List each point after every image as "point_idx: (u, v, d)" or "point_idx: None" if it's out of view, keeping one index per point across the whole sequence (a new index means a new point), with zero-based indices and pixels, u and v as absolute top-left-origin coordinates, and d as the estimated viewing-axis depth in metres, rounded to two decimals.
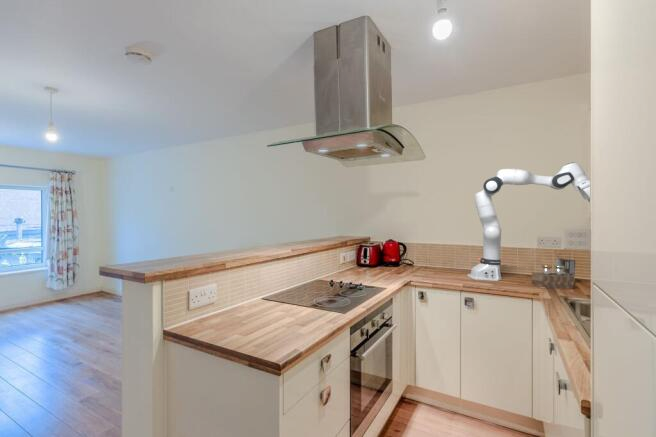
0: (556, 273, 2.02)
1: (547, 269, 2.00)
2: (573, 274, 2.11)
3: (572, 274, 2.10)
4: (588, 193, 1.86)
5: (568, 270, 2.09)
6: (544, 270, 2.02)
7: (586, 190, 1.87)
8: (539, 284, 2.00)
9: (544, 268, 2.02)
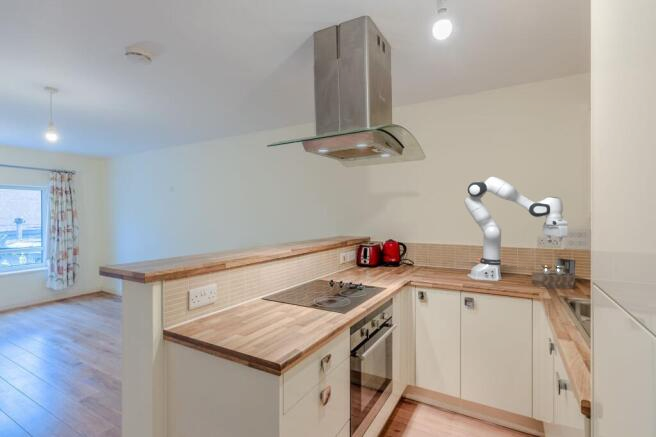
0: (556, 273, 2.02)
1: (547, 269, 2.00)
2: (573, 274, 2.11)
3: (572, 274, 2.10)
4: (561, 231, 1.90)
5: (568, 270, 2.09)
6: (544, 270, 2.02)
7: (561, 227, 1.90)
8: (539, 284, 2.00)
9: (544, 268, 2.02)
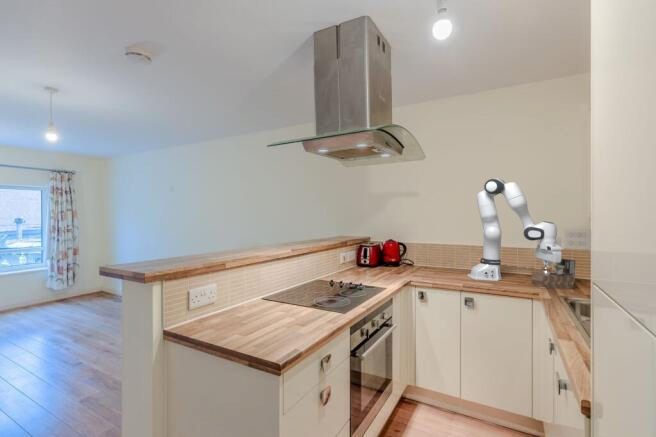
0: (556, 273, 2.02)
1: (547, 271, 2.01)
2: (573, 274, 2.11)
3: (572, 274, 2.10)
4: (555, 257, 1.92)
5: (568, 270, 2.09)
6: (544, 272, 2.02)
7: (555, 253, 1.92)
8: (539, 284, 2.00)
9: (544, 270, 2.02)
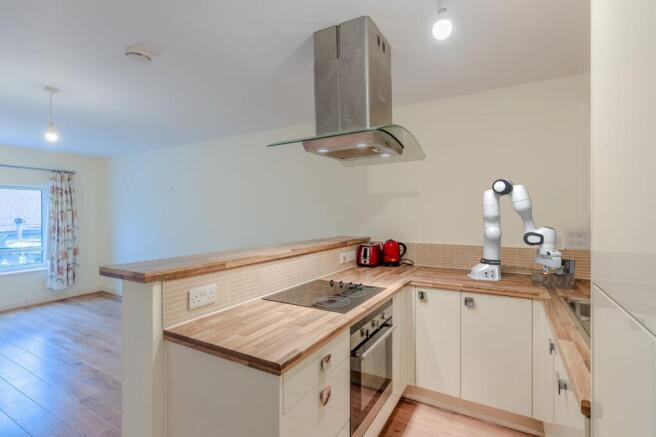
0: (556, 273, 2.02)
1: None
2: (573, 274, 2.11)
3: (572, 274, 2.10)
4: (555, 262, 1.92)
5: (568, 270, 2.09)
6: None
7: (555, 259, 1.93)
8: (539, 284, 2.00)
9: None
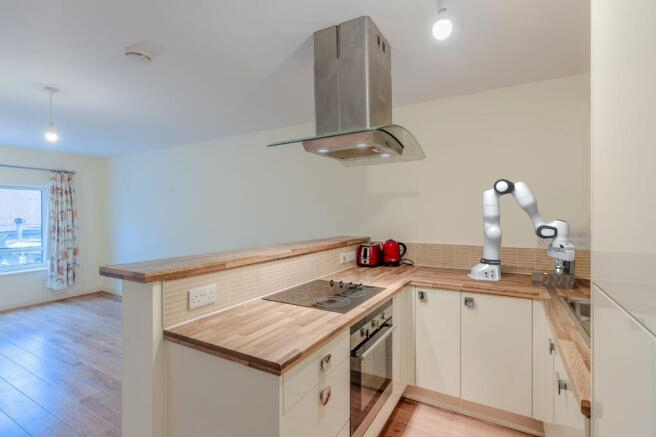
0: (556, 273, 2.02)
1: None
2: (573, 274, 2.11)
3: (572, 274, 2.10)
4: (569, 255, 1.92)
5: (568, 270, 2.09)
6: None
7: (568, 252, 1.92)
8: (539, 284, 2.00)
9: None
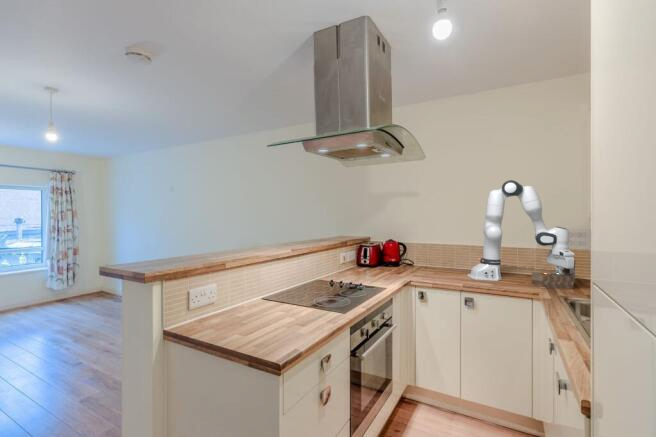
0: None
1: None
2: (573, 274, 2.11)
3: (572, 274, 2.10)
4: (568, 262, 1.92)
5: (568, 270, 2.09)
6: None
7: (568, 259, 1.92)
8: (539, 284, 2.00)
9: None
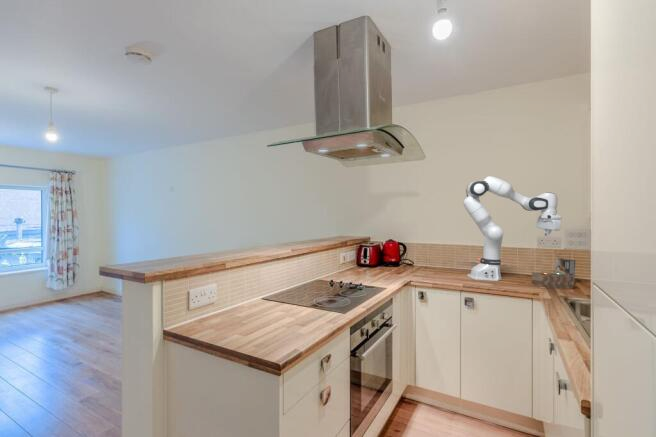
0: None
1: None
2: (573, 274, 2.10)
3: (572, 274, 2.10)
4: (555, 224, 2.04)
5: (568, 270, 2.09)
6: None
7: (555, 221, 2.04)
8: (539, 284, 2.00)
9: None
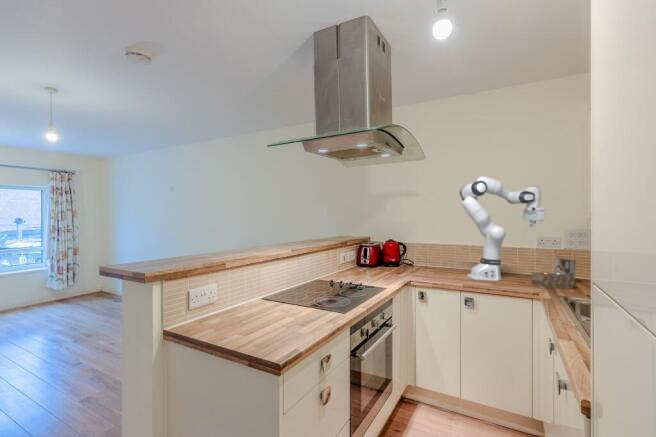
0: None
1: None
2: (573, 274, 2.11)
3: (572, 274, 2.10)
4: (539, 216, 2.20)
5: (568, 270, 2.09)
6: None
7: (539, 213, 2.21)
8: (539, 284, 2.00)
9: None
